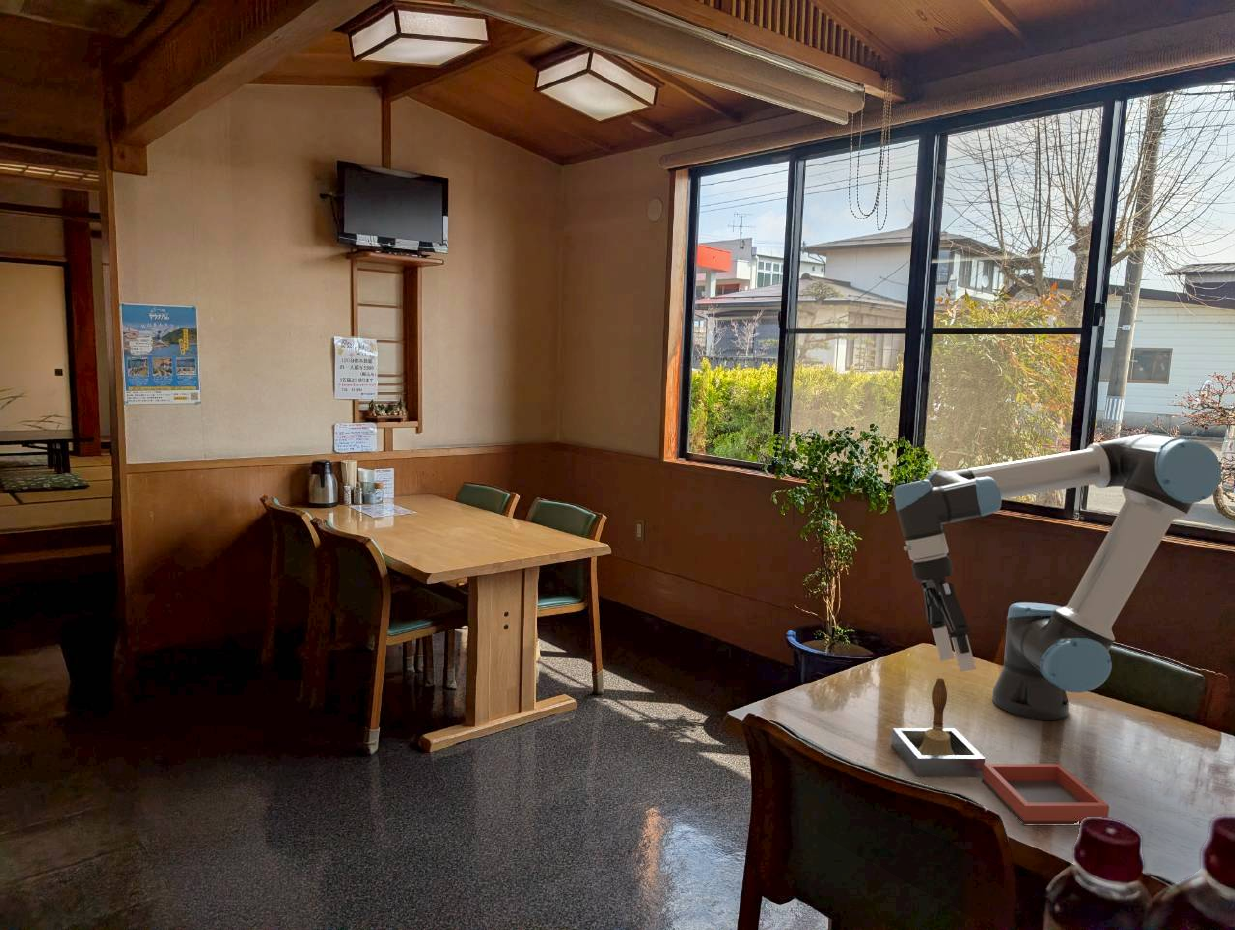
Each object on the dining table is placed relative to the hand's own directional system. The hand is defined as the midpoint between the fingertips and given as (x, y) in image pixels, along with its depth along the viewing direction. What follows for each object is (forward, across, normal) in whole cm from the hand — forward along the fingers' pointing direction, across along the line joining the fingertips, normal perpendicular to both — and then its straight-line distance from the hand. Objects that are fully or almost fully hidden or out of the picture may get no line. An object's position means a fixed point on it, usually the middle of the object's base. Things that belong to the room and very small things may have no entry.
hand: (957, 664), depth 162 cm
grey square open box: (+15, +5, -10) cm, 19 cm away
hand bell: (+16, +5, -10) cm, 19 cm away
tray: (+22, +18, +4) cm, 28 cm away
